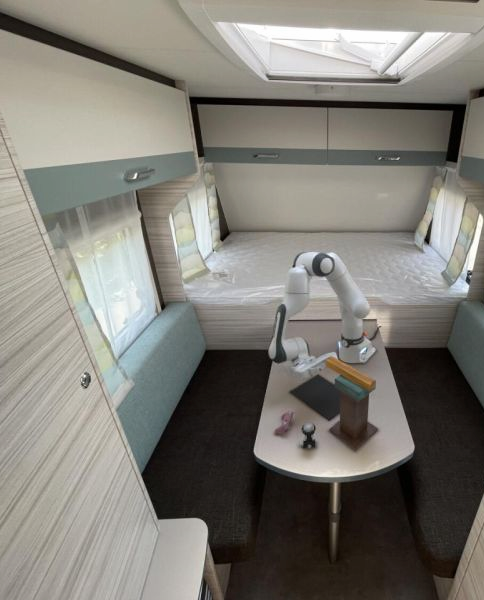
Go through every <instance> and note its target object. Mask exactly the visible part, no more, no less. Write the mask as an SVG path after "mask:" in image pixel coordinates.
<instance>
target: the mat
mask: <svg viewBox="0 0 484 600" xmlns="http://www.w3.org/2000/svg"><path fill="white" fill-rule="evenodd" d="M290 393H291V394H292V395H294V396H295V397H296V398H298V400H300V401H302V403H304V404H306V405H307V406H308V407H310V408H311V409H313V410H314V411H315V412H317V413H318V414H320V415H321V416H322V417H324V418H325V419H326V420H327V421H331V420H332V419H334V418H335V417H337V415H340V390H339V389H337V388H336V387H335V383H333V382H331V381H329V380H328V379H326V378H324V377H323V376H321V375H320V374H316V375H314V376H312V378H309V379H308V380H307V381H304V382H303V383H302V384H300V385H299V386H297V387H295V388H294V389H292V390H290Z"/></svg>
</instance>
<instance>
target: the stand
mask: <svg viewBox="0 0 484 600" xmlns="http://www.w3.org/2000/svg"><path fill="white" fill-rule="evenodd" d="M351 367H352V366H351ZM352 368H354V366H353V367H352ZM358 371H359V372H361V373H363V372H362V371H360V370H358ZM369 377H370V376H369ZM370 378H372V379H374V378H373V377H370ZM374 380H375V387H374V388H373V389H371V390H370V391H368V390H366V389H364V388H362V387H361V386H359V385H357V384H356V383H354V382H352V381H351V380H349V379H347V378H345V377H344V376H342V375H340V374H338V376H336V377H335V378H334V385H335V387H336V388H337V389H339V390H340V413H339V421H337V422H336V423H335V424H334V425H332V426H331V427H330V428H329V432H330V433H331V434H332V435H334V436H335V437H336V438H338V439H339V440H341V441H342V442H343V443H344V444H345V445H347V446H348V447H350V448H351V449H353V450H354V451H355V452H356V451H357V450H358V449H359V448H360V447H361V446H362V445H363V444H365V442H366V441H368V440H369V439H370V438H371V437H372V436H374V435H375V433H376V432H377V431H378V427H376V426H375V425H374V424H372V423H370V422H369V406H370V405H369V403H370V394H371V393H372V392H373V391H374V390H376V385H377V380H376V379H374Z"/></svg>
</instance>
